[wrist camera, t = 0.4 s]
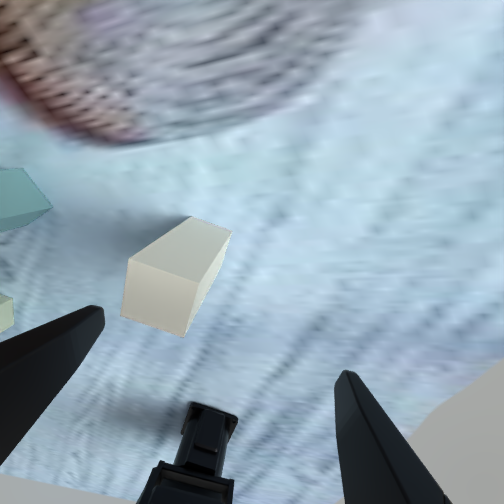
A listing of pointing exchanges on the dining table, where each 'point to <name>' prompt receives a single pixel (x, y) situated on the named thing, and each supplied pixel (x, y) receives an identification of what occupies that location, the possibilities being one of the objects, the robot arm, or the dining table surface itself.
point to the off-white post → (174, 275)
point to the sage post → (6, 312)
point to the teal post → (19, 199)
